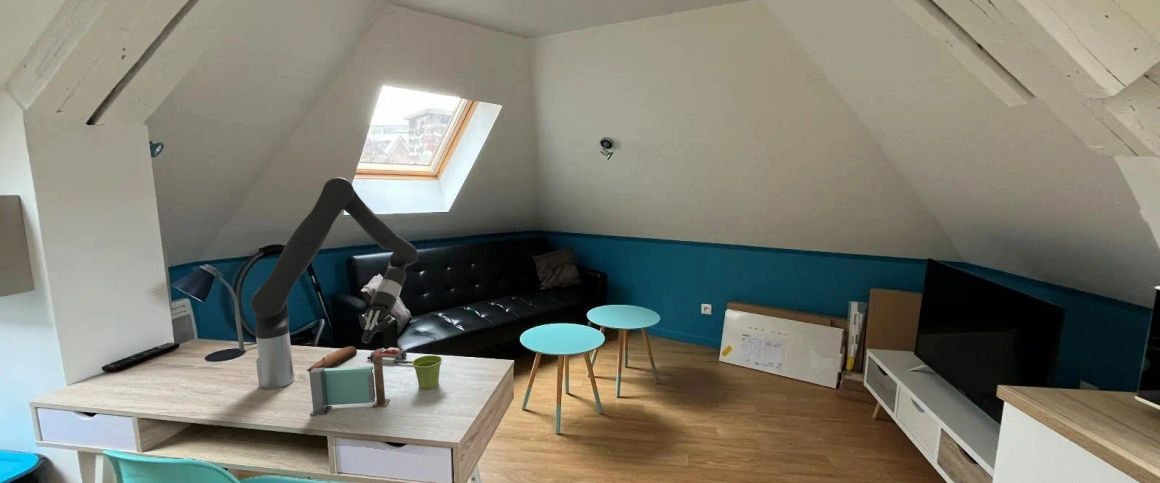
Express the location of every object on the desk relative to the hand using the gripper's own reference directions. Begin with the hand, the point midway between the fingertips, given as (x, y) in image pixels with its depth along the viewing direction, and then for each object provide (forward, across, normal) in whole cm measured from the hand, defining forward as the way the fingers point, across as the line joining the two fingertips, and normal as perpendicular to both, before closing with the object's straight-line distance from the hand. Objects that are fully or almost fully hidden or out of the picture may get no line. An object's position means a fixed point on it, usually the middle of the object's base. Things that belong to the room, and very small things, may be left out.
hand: (364, 342), depth 154 cm
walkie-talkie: (-4, -5, +27) cm, 27 cm away
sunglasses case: (+1, -26, +22) cm, 34 cm away
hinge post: (+17, +12, +4) cm, 21 cm away
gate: (+19, +3, +1) cm, 19 cm away
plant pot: (+7, +19, +15) cm, 25 cm away
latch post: (+23, -3, -1) cm, 23 cm away
